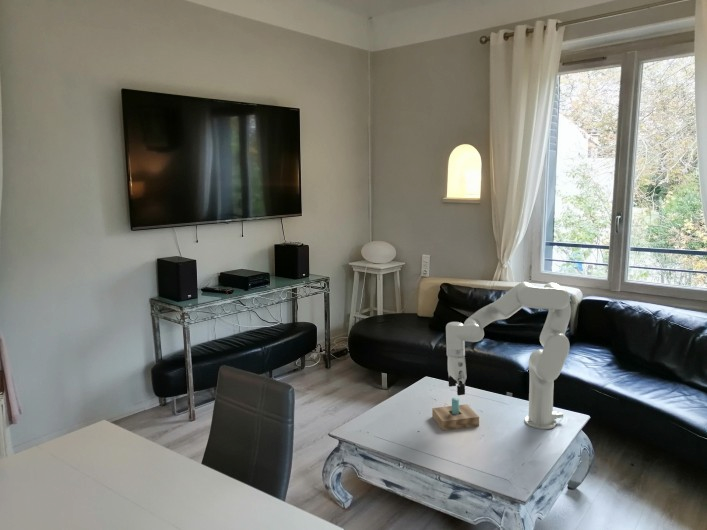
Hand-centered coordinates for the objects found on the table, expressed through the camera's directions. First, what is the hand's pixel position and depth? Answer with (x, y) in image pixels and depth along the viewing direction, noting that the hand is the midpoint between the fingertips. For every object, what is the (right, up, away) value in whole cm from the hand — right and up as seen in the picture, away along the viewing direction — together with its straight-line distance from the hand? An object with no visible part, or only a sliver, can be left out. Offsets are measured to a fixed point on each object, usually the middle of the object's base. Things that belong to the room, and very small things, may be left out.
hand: (456, 390), depth 229 cm
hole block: (0, -14, +2) cm, 14 cm away
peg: (0, -14, +2) cm, 14 cm away
